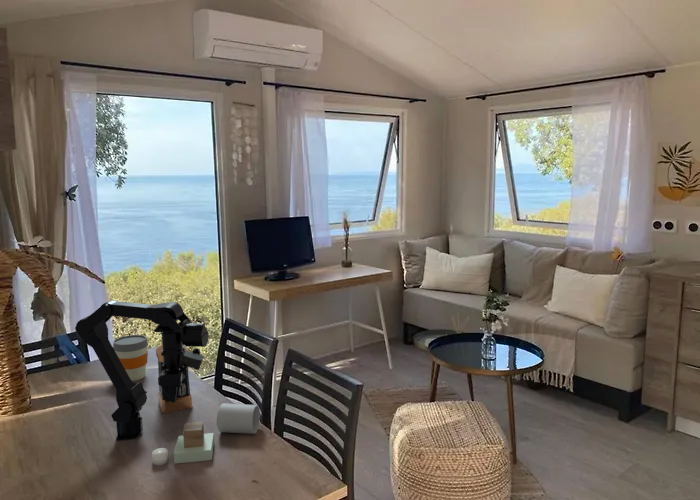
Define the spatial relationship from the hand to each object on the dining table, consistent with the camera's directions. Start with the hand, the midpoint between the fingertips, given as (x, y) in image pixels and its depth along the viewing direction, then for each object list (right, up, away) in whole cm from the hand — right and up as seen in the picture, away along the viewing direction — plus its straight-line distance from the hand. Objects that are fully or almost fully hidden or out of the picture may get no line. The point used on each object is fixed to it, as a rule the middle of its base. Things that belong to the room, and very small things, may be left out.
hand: (175, 395), depth 166 cm
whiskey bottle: (-8, -10, +24) cm, 27 cm away
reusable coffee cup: (-32, -6, +50) cm, 60 cm away
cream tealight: (0, -15, -12) cm, 19 cm away
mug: (+13, -9, +6) cm, 16 cm away
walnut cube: (+8, -11, -8) cm, 16 cm away
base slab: (+8, -14, -8) cm, 18 cm away
